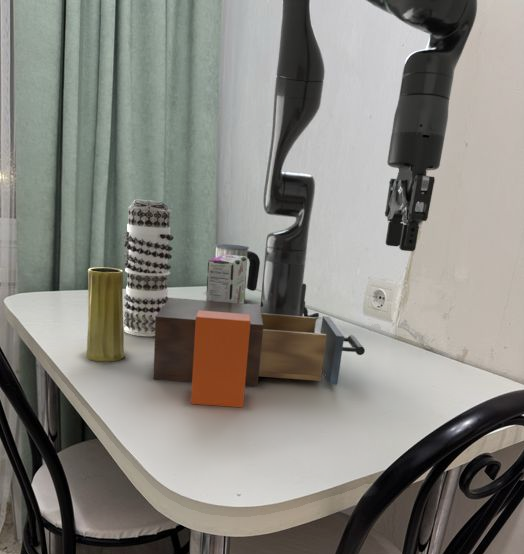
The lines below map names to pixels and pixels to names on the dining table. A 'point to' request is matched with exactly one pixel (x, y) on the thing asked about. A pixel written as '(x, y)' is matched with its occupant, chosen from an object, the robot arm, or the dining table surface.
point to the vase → (105, 315)
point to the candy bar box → (227, 279)
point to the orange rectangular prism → (220, 358)
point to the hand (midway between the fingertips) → (399, 247)
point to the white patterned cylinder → (146, 265)
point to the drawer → (302, 348)
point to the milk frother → (253, 258)
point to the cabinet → (181, 335)
